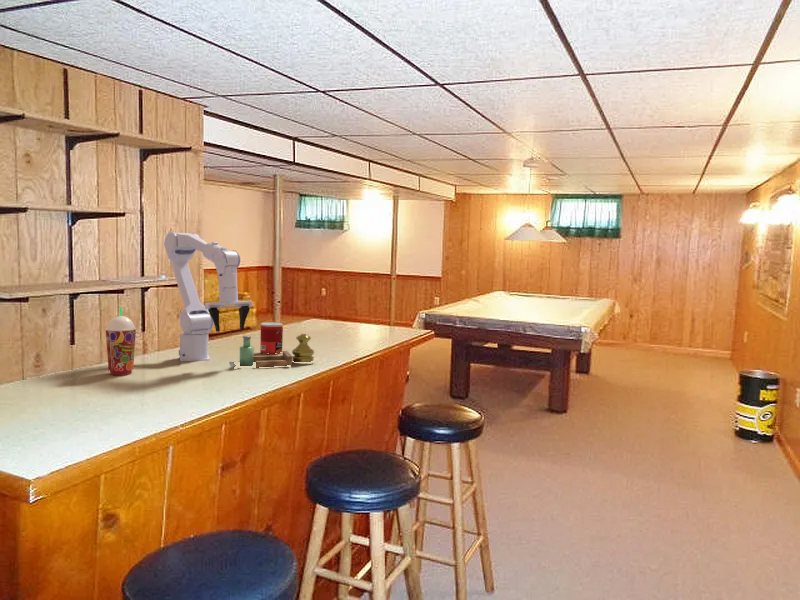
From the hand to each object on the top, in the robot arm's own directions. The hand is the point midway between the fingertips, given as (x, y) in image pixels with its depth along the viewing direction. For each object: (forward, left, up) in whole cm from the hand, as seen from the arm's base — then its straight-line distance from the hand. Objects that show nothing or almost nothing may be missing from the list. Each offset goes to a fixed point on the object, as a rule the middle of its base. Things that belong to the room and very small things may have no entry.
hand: (230, 330), depth 194 cm
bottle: (+5, +1, -12) cm, 13 cm away
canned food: (+16, +22, -12) cm, 30 cm away
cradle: (+10, +1, -12) cm, 16 cm away
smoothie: (-32, -4, -12) cm, 34 cm away
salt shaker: (+24, +3, -12) cm, 27 cm away
